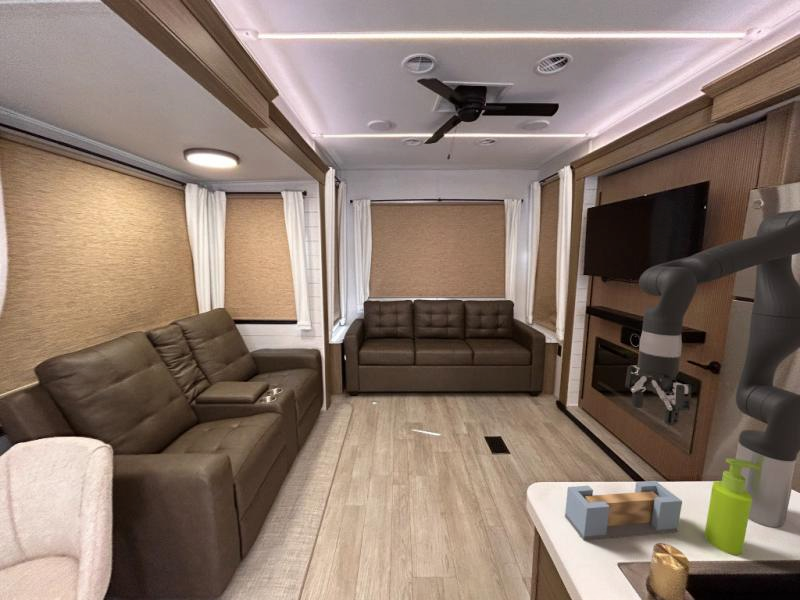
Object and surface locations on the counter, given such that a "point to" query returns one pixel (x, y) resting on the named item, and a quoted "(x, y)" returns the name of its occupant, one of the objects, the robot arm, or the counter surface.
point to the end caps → (594, 522)
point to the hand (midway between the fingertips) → (652, 415)
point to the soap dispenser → (729, 509)
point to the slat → (627, 507)
